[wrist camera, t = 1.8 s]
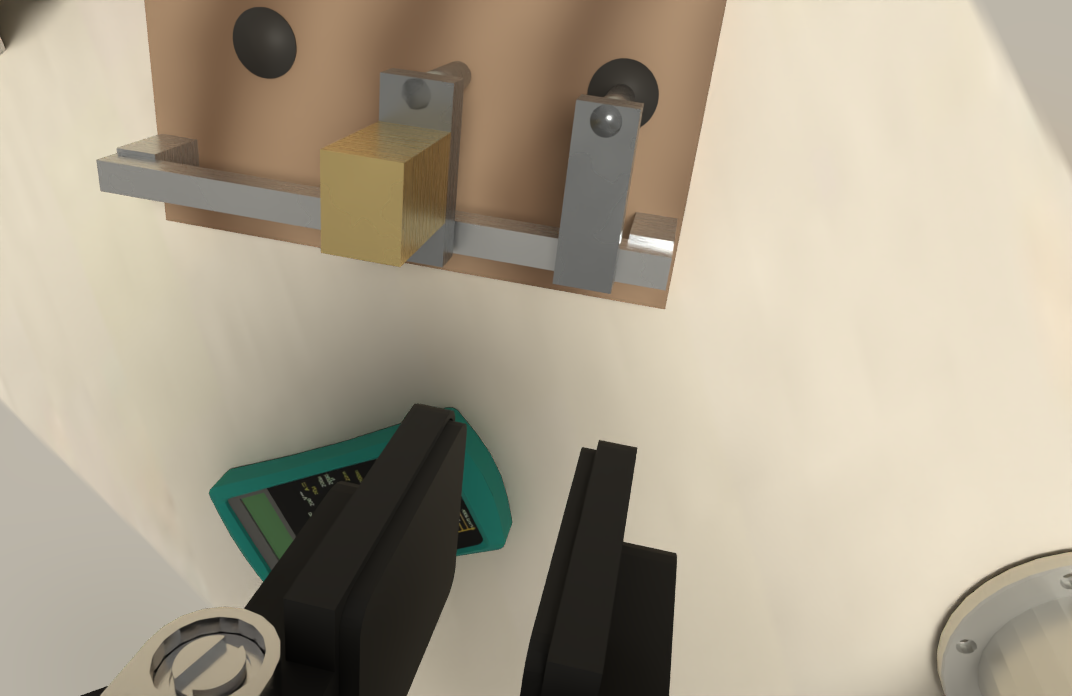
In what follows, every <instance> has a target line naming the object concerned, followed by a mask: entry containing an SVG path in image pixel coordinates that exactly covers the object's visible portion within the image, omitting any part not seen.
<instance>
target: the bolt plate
mask: <svg viewBox="0 0 1072 696" xmlns="http://www.w3.org/2000/svg"><path fill="white" fill-rule="evenodd" d="M144 1H145V11H146V21H147V32H148V42H149V52H150V62H151V72H152V82H153V92H154V102H155V112H156V122H157V132H158V135H156V136H153V137H150V138H147V139H143V140H140V141H137V142H134V143H131V144H128V145H124V146H121V147H118V148H117V153H116V154H113V155H110V156H107V157H104V158H101V159H97V168H98V175H99V183H100V190H101V191H103V192H109V193H114V194H120V195H126V196H131V197H137V198H143V199H148V200H154V201H160V202H165V212H166V220H169V221H174V222H180V223H185V224H191V225H197V226H202V227H208V228H213V229H219V230H225V231H230V232H236V233H241V234H247V235H253V236H258V237H264V238H269V239H275V240H280V241H286V242H292V243H297V244H303V245H308V246H314V247H320V248H321V202H320V149H322V148H324V147H326V146H328V145H330V144H332V143H334V142H336V141H338V140H340V139H343V138H345V137H347V136H349V135H351V134H353V133H355V132H357V131H359V130H361V129H363V128H365V127H367V126H370V125H372V124H374V123H376V122H378V121H379V95H380V72H383V71H386V70H388V69H391V68H398V69H405V70H411V71H418V72H428V71H431V70H433V69H436V68H438V67H441V66H443V65H446V64H449V63H451V62H454V61H460V62H463V63H465V64H466V65H467V66H468V68H469V69H470V72H471V81H470V83H469V85H468V86H467V87H466V88H464V94H463V108H462V123H461V138H460V153H459V167H458V182H457V197H456V212H455V226H454V241H453V256H452V257H451V258H450V260H449V261H448V262H447V263H446V264H445V265H444V266H443V267H437V266H431V265H426V264H420V263H415V262H409V261H406V262H405V263H409V264H415V265H420V266H426V267H431V268H437V269H443V270H448V271H454V272H459V273H465V274H470V275H476V276H482V277H487V278H493V279H498V280H504V281H510V282H515V283H521V284H526V285H532V286H538V287H543V288H549V289H554V290H560V291H565V292H571V293H577V294H582V295H588V296H593V297H599V298H605V299H610V300H616V301H621V302H627V303H632V304H638V305H644V306H649V307H655V308H660V309H665V306H666V301H667V296H668V291H669V286H670V281H671V276H672V271H673V266H674V261H675V256H676V251H677V246H678V241H679V236H680V231H681V226H682V221H683V216H684V211H685V206H686V201H687V196H688V191H689V186H690V181H691V176H692V171H693V166H694V161H695V156H696V151H697V146H698V141H699V136H700V131H701V126H702V121H703V116H704V111H705V106H706V101H707V96H708V91H709V86H710V81H711V76H712V71H713V66H714V61H715V56H716V51H717V46H718V41H719V36H720V31H721V26H722V21H723V16H724V11H725V6H726V1H727V0H144Z"/></svg>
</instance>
